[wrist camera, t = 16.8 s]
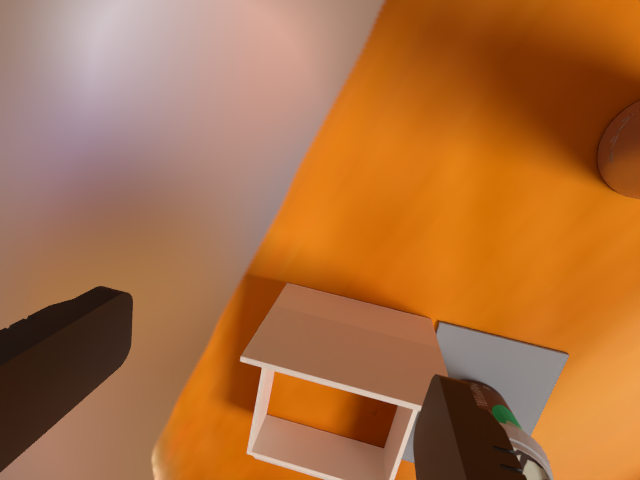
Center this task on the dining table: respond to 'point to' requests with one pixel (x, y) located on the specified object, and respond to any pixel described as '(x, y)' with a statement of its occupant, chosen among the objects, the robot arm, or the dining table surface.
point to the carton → (340, 378)
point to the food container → (513, 432)
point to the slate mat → (500, 371)
